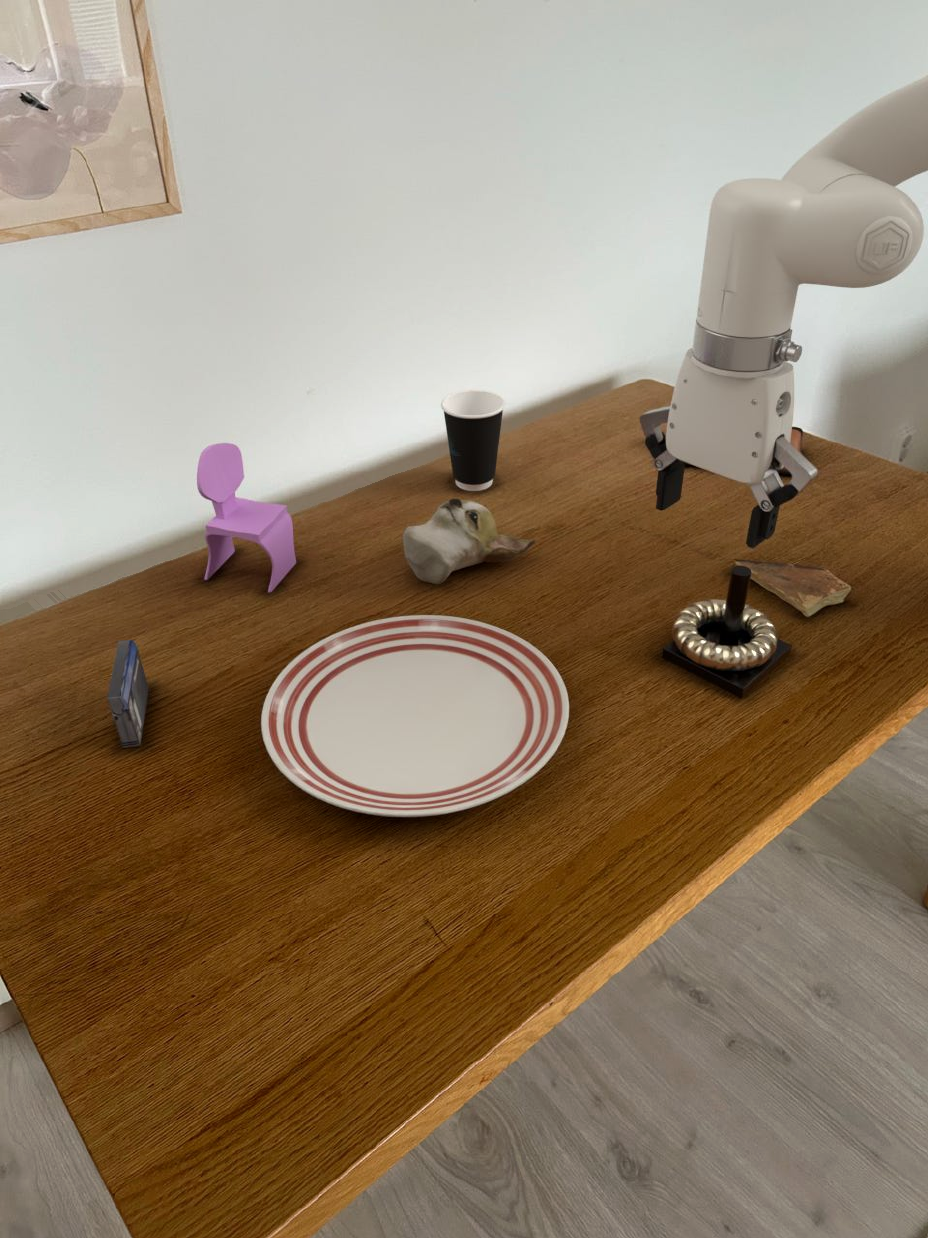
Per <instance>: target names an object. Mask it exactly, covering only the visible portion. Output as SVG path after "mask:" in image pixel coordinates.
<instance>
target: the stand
mask: <svg viewBox="0 0 928 1238" xmlns="http://www.w3.org/2000/svg"><path fill="white" fill-rule="evenodd" d="M750 578H751V569H750V568H748V567H746V566H742V565H737V566H736V565H734V566H732V568H731V571H730V576H729V581H728V587H727V593H726V604H725V610H724V616H723V621H722V623H709V624H705V625H702V626H700V627H699V628H698V629H697V631H698V633H699V635H700V636H702V637H703V638H705V639H706V640H708V641H710V642H713V643H716V644H720V645H725V646H739V645H742V644H746V643H748V642H750V641H751V639H752V638H751V636H750V635H749V633H747V632H746V631H744V630H743V629H741V624H742V619H743V614H744V609H745V604H747V599H748V592H749V589H750V582H751V579H750ZM792 646H793V645H792V644H790V643H788V642H786V641H783V640H782V639H779V638H777V648H776V651H775V653H774V654H773V655H772V656H771V657H770V658H769V659H768V660H767V661H766V662H765V663H764V664H762V665H760V666H758V667H754V668H751V669H747V670H744V671H719V670H715V669H712V668H709V667H706V666H702V665H699V664H697V663H695V662H694V661H692V660H691V659H690V658H688V657H687V656H685V655H684V654H683V653H681V652H680V650H679V649H678V647H677V645H676V643H675V641H674V639H673V640H672V641H670V642H669V643H668V644H666V645H665V646H664V647H663V648H662V653H661V658H662V659H664V660H666V661H668V662H670V663H671V664H674V665H676V666H678V667H680V668H682V669H683V670H685V671H687V672H690V673H691V674H693V675H695V676H697V677H699V678H701V679H704V680H705V681H707V682H709V683H710V684H713V685H714V686H717V687H719V688H720V689H722V690H724V691H726V692H728V693H730V694H732V695H734V696H736V697H738V698H740V699H743V698H744V697H745V696H746V695H747V694H748V693H749V692H750V691H751V690H752V689H754V688H755V687H756V686H757V685H758V684H759V683H760V682H762V680H764V679H765V678H766V677H767V676H768V675H769V674H770V673H771V672H772V671H773V670H775V669H776V668H777V667H778V666H779V665H780V664H782V663H783V661H784V660H786V659H787V658H788V657H789V656H790V655H791V651H792V648H793V647H792Z"/></svg>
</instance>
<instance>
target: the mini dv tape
mask: <svg viewBox="0 0 928 1238" xmlns="http://www.w3.org/2000/svg"><path fill="white" fill-rule="evenodd" d="M147 680H148V679H147V677H146V673H145V669H144V666H143V663H142V660H141V656H140V652H139V649H138V645H137V643H136V642H135V641H134V640H133V639H127V640H118V641H117V646H116V651H115V656H114V662H113V666H112V672H111V678H110V683H109V688H108V693H107V703H108V705H109V708H110V711H111V715H112V718H113V722H114V724H115V727H116V732H117V734H118V738H119V741H120V744H121V746H122V749H127V748H135V747H141V745H142V744H141V743H142V737H143V732H144V731H143V730H144V724H145V717H146V711H147V704H148V697H149V689H150V688H149V683H148V681H147Z"/></svg>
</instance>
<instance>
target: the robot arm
mask: <svg viewBox="0 0 928 1238" xmlns="http://www.w3.org/2000/svg"><path fill="white" fill-rule="evenodd" d="M927 171H928V75H926V76H923V77H922V78H919V79H916V81H913V82H911V83H908V84H906V85H904V86H903V87H900V88H898V89H896V90H894V91H892V92H890V93H888V94H887V95H885V96H882V97H880V98H879V99H877V100H875V101H873V102H872V103H870V104H868V105H867V106H865V107H863V108H862V109H861V110H859V111H858V112H855V114H853V115H852V116H850V117H849V118H848V119H846V120H845V121H843V122H842V123H841V124H840V125H838V126H837V127H836V128H835V129H833V130H832V131H831V132H830V133H828V134H827V135H826V136H825V137H824V138H822V139H821V140H820V141H819V142H817V143H816V144H815V145H814V146H813V147H811V148H810V149H809V150H808V151H807V152H806V153H804V154H803V155H802V156H801V157H800V158H799V159H798V160H797V161H796V162H795V163H794V164H793V165H792V166H791V167H790V168H789V169H788V171H786V173H784V175H783V176H782V177H781V179H776V178H766V177H755V178H742V179H736V180H733V181H729V182H727V183H725V184H724V185H722V186H721V187H720V188H718V190H717V191H716V193H715V194H714V196H713V197H712V200H711V204H710V209H709V214H708V215H709V216H708V222H707V223H708V224H707V232H706V239H705V247H704V256H703V263H702V271H701V280H700V288H699V295H698V305H697V310H696V311H697V312H696V319H695V326H694V334H693V341H692V347H691V348H689V349H688V350H687V351H686V352H685V355H684V357H683V360H682V362H681V366H680V368H679V372H678V374H677V378H676V381H675V385H674V387H673V388H674V389H673V392H672V397H671V401H670V405H667V406H664V407H660V408H655V409H650V410H648V411H646V412H644V413H642V414H641V415H640V416H639V423H640V426H641V429H642V432H643V436H645V439H644V444H645V446H646V448H647V450H648V451H649V453H650V455H651V457H652V458H653V462H652V465H653V468H654V469H655V470H657V478H656V479H657V480H656V487H655V495H656V503H655V509H656V510H658V511H661V512H662V511H666V510H667V509H669V508H670V507H671V506H673V505H675V504H676V503H678V502H679V501H680V500H681V498H682V492H683V491H682V490H683V483H684V475H685V469H686V465H684V462H686V463H689V464H691V465H690V466H695V467H697V468H700V469H702V470H705V471H707V472H710V473H712V474H715V475H718V476H721V477H724V478H727V479H730V480H732V481H735V482H738V483H741V484H744V485H748V486H749V488H750V491H751V492H752V494H753V496H754V498H755V500H756V502H757V505H755V506H754V507H753V508H752V510H751V514H750V518H749V525H748V530H747V535H746V541H745V544H746V546H747V547H748V548H750V549H755V548H756V547H758V546H759V545H760V544H761V543H763V542H764V541H765V540H769V539H770V538H772V536H773V535H774V533H775V530H776V527H777V523H778V517H779V512H780V507H781V506H782V505H784V504H785V503H787V502H789V501H792V500H793V499H794V498H796V497H797V496H798V495H800V494H802V493H803V492H804V491H805V489H806V488H807V487H808V486H809V485H810V484H811V483H812V482H813V481H814V479H816V478H817V476H818V474H819V471H818V469H817V467H816V466H815V465H813V463H812V462H811V461H809V460H808V459H807V458H806V457H805V456H804V454H802V452H801V453H800V452H799V451H798V450H797V449H796V448H795V447H794V446H792V445H791V444H790V439H791V431H792V426H793V423H794V421H793V420H794V412H795V411H794V409H795V373H794V372H795V371H794V366H793V364H792V363H797V362H798V361H799V360H800V359H801V357H802V353H803V346H802V345H800V344H795V342H794V341H792V334H793V329H792V327H791V326H792V321H793V317H794V311H795V307H796V306H795V305H796V302H797V301H796V300H797V295H798V290H799V286H800V285H804V284H806V285H817V286H828V287H837V288H848V289H865V288H870V287H875V286H878V285H881V284H885V283H886V282H890V281H891V280H892V279H895V278H896V277H897V276H900V274H901V273H903V272H904V271H905V270H907V268H909V267H910V265H911V264H912V263H913V262H914V260H915V258H917V256H918V253H919V251H920V249H921V247H922V244H923V240H924V236H925V235H924V234H925V229H924V228H925V227H924V219H923V216H922V213H921V211H920V209H919V207H918V205H917V204H916V202H914V201H913V199H912V198H911V197H910V196H909V195H908V194H907V193H906V192H904V191H902V190H901V189H899V188H897V186H899V185H900V184H902V183H904V182H905V181H907V180H911V178H913V177H916V176H919V175H920V174H923V173H926V172H927ZM790 362H792V363H790ZM662 424H666V430H665V431H666V432H665V433H664V432H663V431H662V430H663V428H662ZM680 460H681V461H680ZM682 461H684V462H682ZM783 467H785V468H786V469H787V470H788V471H789V472H790V473H791V474H790V475H791V479H790V480H789V482H788V483H787V484H784V482H783V481H782V478H781V477H780V475H779V473H778V472H777V470H781V469H782V468H783Z"/></svg>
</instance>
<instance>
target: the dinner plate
mask: <svg viewBox="0 0 928 1238" xmlns="http://www.w3.org/2000/svg"><path fill="white" fill-rule="evenodd" d="M569 718H570V702H569V695H568V691H567V687H566V685H565V682H564V680H563V678H562V675H561V674H560V673H559V671H558V669H557V668H556V667H555V665H554V664H553V663H552V661H550V659H548V657H547V656H546V655H545V654H544V653H543V652H542V651H540V650H539V649H537V648H536V646H534V645H532V644H531V643H530V642H528V641H526V640H525V639H523V638H521V636H518V635H516V634H514V633H512V632H510V631H507V630H505V629H503V628H501V627H497V626H494V625H491V624H489V623H486V622H482V621H478V620H474V619H469V618H464V617H458V616H449V615H437V614H415V615H414V614H413V615H402V616H394V617H393V616H392V617H387V618H381V619H377V620H371V621H368V622H364V623H361V624H357V625H354V626H352V627H349V628H346V629H342V630H340V631H338V632H336V633H333V634H331V635H329V636H327V637H324V638H323V639H321V640H319V641H318V642H316V643H314V644H312V645H311V646H309V647H308V648H307V649H305V650H303V651H302V652H301V653H299V654H298V655H297V656H296V657H295V658H293V660H291V661H290V662H289V663H288V664H287V665H286V667H284V668H283V670H281V672H280V673H279V674H278V675H277V677H276V678H275V680H274V682H273V683H272V685H271V686H270V688H269V690H268V693H267V694H266V697H265V699H264V702H263V706H262V710H261V717H260V728H261V735H262V740H263V743H264V746H265V749H266V752H267V753H268V756H269V757H270V758H271V761H272V762H273V764H274V765H275V766H276V768H277V769H278V770H279V772H281V773H282V775H283V776H284V777H285V778H286V779H288V780H289V781H290V782H291V783H292V784H293V785H295V786H296V787H297V788H299V789H301V791H304V792H305V793H307V795H310V796H312V797H314V798H316V799H318V800H320V801H322V802H325V803H327V804H329V805H332V806H335V807H338V808H341V809H344V810H347V811H348V810H349V811H351V812H356V813H361V814H366V815H370V816H371V815H372V816H379V817H390V818H423V817H433V816H442V815H447V814H451V813H458V812H461V811H464V810H468V809H472V808H475V807H478V806H482V805H485V804H487V803H489V802H492V801H494V800H496V799H498V798H501V797H503V796H505V795H508V794H509V793H510V792H512V791H514V790H515V789H517V788H518V787H520V786H522V785H523V784H525V783H526V782H528V781H529V780H530V779H531V778H533V777H534V776H535V775H536V774H537V773H538V772H539V771H541V769H543V767H544V766H545V765H546V764H547V763H548V762H549V760H550V759H552V757H553V756H554V755H555V753H556V752H557V751H558V748H559V746H560V745H561V743H562V741H563V739H564V737H565V733H566V730H567V727H568V724H569Z"/></svg>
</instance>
